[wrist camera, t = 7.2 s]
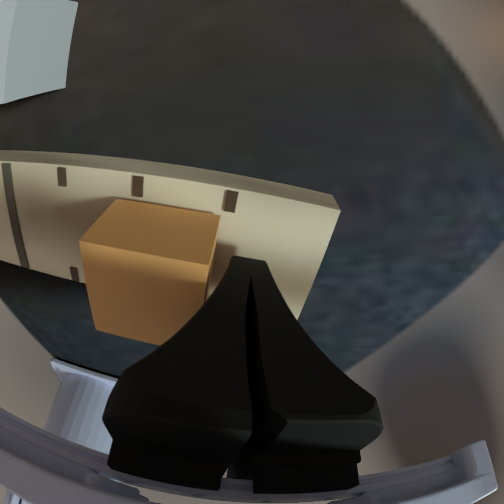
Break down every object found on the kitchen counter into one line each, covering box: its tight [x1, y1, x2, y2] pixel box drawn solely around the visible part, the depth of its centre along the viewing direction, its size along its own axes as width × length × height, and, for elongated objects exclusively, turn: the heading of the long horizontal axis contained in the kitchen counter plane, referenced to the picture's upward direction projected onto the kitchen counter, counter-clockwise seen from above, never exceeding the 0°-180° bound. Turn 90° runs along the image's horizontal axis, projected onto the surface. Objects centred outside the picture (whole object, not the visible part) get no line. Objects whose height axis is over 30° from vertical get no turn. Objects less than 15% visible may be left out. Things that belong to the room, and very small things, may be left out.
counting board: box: [0, 150, 341, 319], centre depth 12 cm, size 6×20×2 cm, turn 79°
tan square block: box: [79, 199, 220, 345], centre depth 10 cm, size 4×4×3 cm
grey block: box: [0, 0, 78, 104], centre depth 6 cm, size 4×4×4 cm
